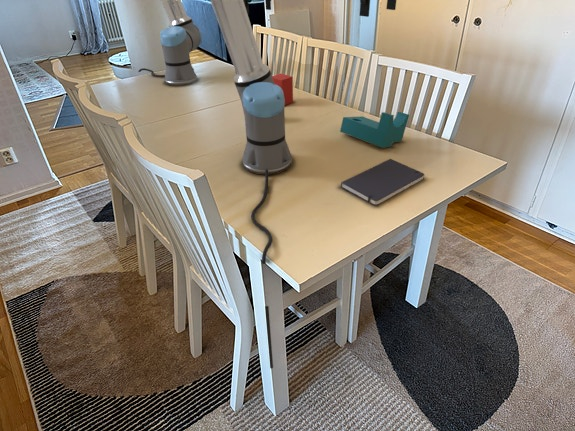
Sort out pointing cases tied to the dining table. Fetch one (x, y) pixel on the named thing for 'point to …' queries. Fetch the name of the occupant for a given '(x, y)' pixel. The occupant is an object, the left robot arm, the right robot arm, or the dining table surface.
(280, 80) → the block
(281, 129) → the right robot arm
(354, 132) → the teal l-shaped bracket
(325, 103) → the dining table surface
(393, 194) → the notebook
